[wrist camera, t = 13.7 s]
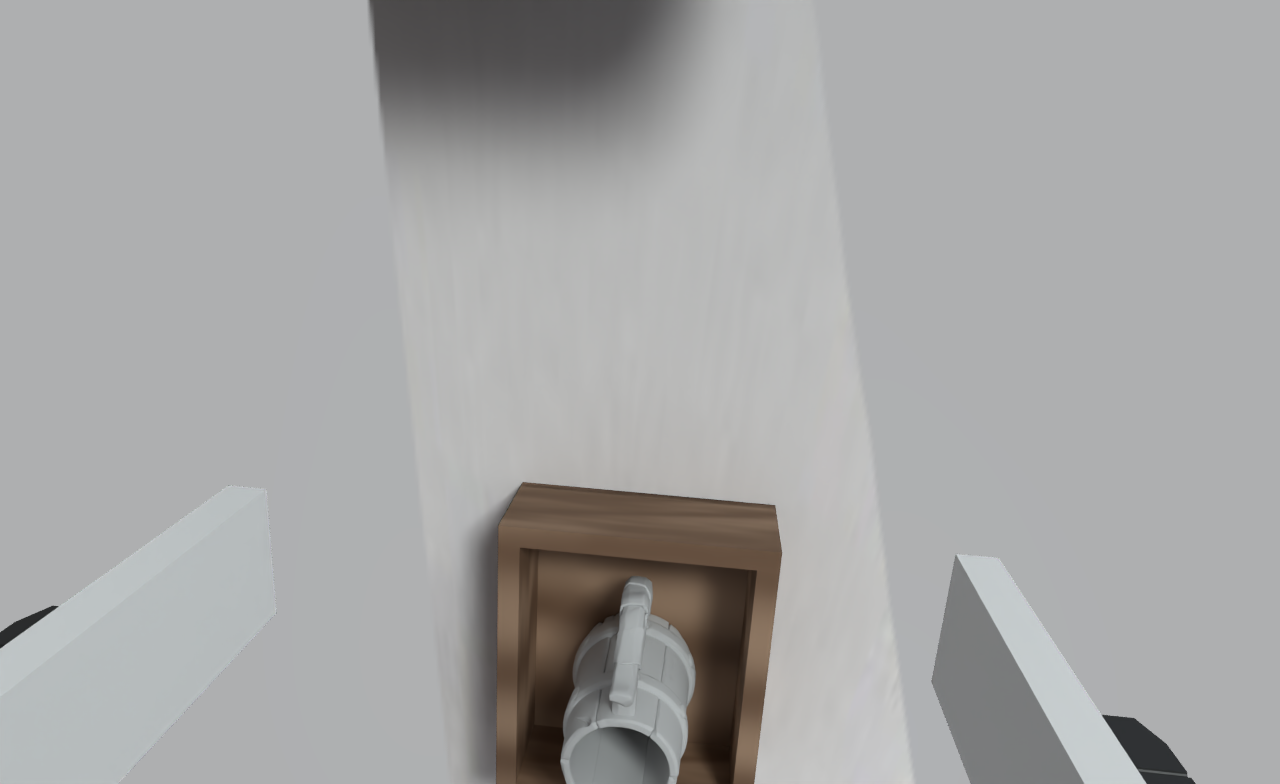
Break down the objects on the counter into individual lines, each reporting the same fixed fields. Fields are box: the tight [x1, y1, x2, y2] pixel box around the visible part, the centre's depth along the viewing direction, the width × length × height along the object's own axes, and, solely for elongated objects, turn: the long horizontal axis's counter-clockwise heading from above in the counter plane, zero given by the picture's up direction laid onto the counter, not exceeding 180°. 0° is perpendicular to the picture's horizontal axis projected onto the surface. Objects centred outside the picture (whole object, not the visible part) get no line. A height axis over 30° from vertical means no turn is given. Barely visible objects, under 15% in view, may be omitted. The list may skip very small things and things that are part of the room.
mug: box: [560, 576, 696, 784], centre depth 47 cm, size 8×12×12 cm, turn 177°
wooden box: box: [496, 482, 782, 784], centre depth 51 cm, size 18×15×6 cm
